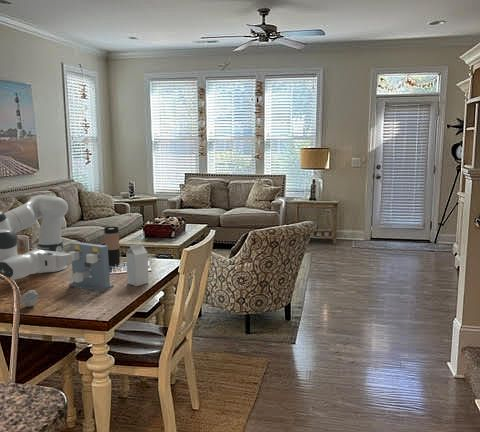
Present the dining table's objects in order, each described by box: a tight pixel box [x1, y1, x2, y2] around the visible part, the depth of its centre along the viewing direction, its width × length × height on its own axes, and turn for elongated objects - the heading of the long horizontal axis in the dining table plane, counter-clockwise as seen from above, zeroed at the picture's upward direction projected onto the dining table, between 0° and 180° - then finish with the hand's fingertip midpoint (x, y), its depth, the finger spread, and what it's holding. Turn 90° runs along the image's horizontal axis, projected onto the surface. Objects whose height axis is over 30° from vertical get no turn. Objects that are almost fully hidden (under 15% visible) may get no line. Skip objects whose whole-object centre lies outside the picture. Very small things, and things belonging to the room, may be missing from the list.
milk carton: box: [125, 242, 150, 287], centre depth 223 cm, size 7×7×19 cm
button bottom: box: [71, 270, 91, 283], centre depth 216 cm, size 4×10×4 cm, turn 153°
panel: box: [68, 241, 115, 292], centre depth 219 cm, size 20×8×20 cm, turn 63°
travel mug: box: [103, 226, 121, 266], centre depth 258 cm, size 8×8×20 cm
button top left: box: [67, 250, 82, 261], centre depth 220 cm, size 4×10×4 cm, turn 153°
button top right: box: [86, 253, 100, 263], centre depth 215 cm, size 4×10×4 cm, turn 153°
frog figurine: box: [20, 289, 39, 308], centre depth 194 cm, size 6×7×7 cm
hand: (64, 252), depth 199 cm, fingers closed
